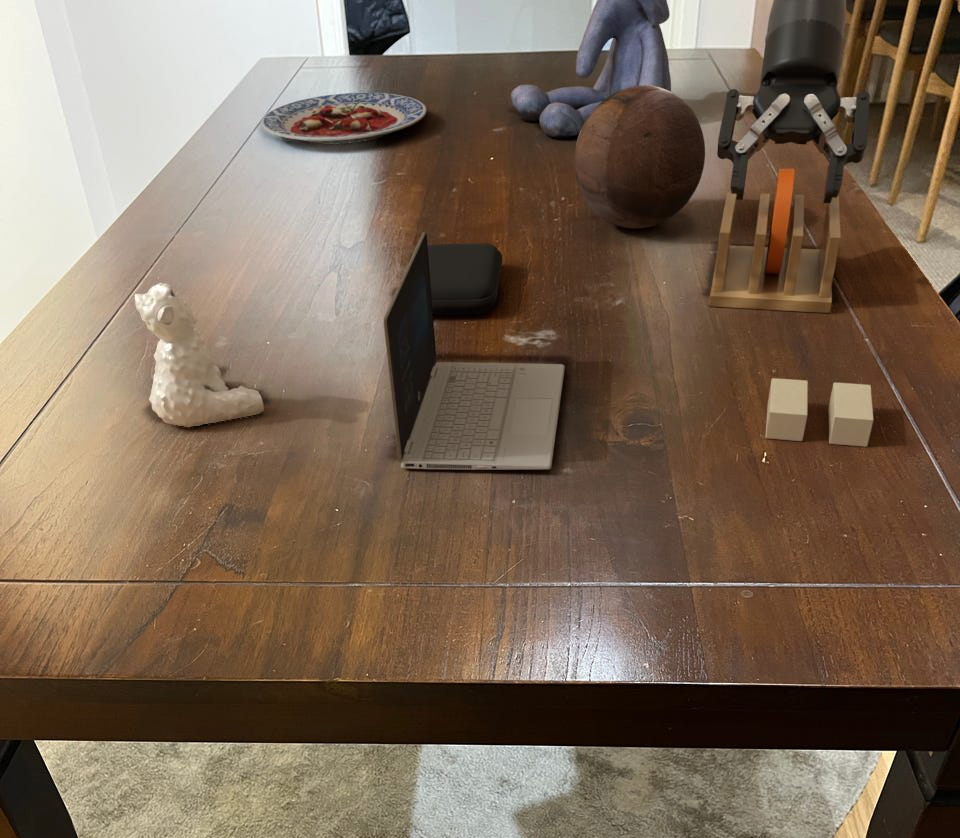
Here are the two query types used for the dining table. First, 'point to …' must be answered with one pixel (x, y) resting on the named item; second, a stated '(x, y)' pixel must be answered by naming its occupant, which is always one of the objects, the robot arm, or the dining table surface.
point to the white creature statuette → (187, 367)
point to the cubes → (845, 412)
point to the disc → (780, 220)
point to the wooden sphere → (639, 156)
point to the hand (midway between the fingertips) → (783, 197)
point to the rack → (801, 271)
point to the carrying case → (464, 277)
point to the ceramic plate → (344, 117)
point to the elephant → (631, 62)
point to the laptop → (462, 393)
